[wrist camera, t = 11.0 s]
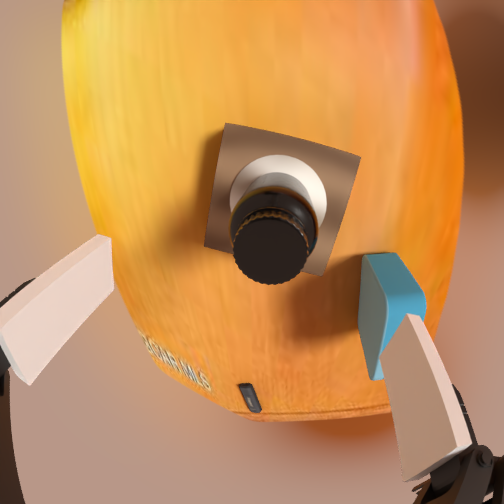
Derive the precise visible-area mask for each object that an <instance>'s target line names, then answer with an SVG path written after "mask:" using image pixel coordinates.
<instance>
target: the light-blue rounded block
mask: <svg viewBox="0 0 504 504" xmlns="http://www.w3.org/2000/svg"><path fill="white" fill-rule="evenodd" d="M406 313H408V314H413V315H418V316H420V318H421V320H422V321H424V317H425V313H426V298H425V295H424V292H423V291H422V289H421V288H420V286H419V285H418V283H417V282H416V280H415V279H414V277H413V276H412V274H411V273H410V271H409V270H408V269H407V267H406V266H405V264H404V263H403V262H402V260H401V259H400V257H399V256H398V255H397V254H396V253H382V254H368V255H364V256H363V257H362V266H361V284H360V298H359V310H358V329H359V334H360V338H361V342H362V346H363V350H364V355H365V359H366V364H367V369H368V373H369V377H370V379H371V380H381V379H384V375H383V371H382V367H381V363H380V359H379V356H380V355H381V353H382V352H383V350H384V349H385V347H386V346H387V344H388V343H389V341H390V340H391V338H392V337H393V335H394V333H395V332H396V330H397V329H398V327H399V325H400V324H401V322H402V320H403V319H404V317H405V315H406Z"/></svg>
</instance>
